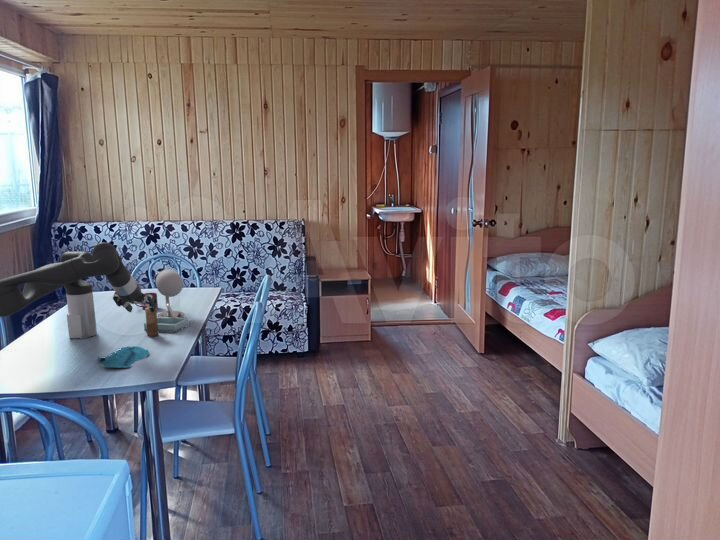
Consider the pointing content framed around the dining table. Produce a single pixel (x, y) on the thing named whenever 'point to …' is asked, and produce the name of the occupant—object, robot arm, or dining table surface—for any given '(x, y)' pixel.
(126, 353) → the mineral
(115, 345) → the dining table surface
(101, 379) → the dining table surface
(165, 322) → the bin
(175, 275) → the light fixture
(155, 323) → the dowel
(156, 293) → the mug
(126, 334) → the dining table surface
